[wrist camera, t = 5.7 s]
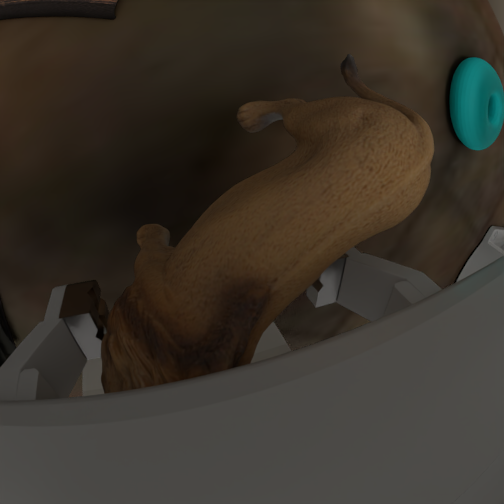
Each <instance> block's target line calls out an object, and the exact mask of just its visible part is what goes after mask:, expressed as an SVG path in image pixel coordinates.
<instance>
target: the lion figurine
mask: <svg viewBox="0 0 504 504" xmlns="http://www.w3.org/2000/svg"><path fill="white" fill-rule="evenodd" d="M341 72H342V75H343V77H344V79H345V81H346V83H347V84H348V85H349V86H350V87H351V89H352V90H353V91H354V92H355V93H356V94H357V95H358V96H359V97H361V98H357V97H345V96H344V97H331V98H326V99H321V100H315V101H311V102H305V101H304V100H302V99H294V98H290V99H284V100H278V101H254V102H249V103H246V104H244V105H242V106H241V107H240V108H239V109H238V112H237V121H238V123H239V124H240V125H241V126H242V127H243V128H244V129H245V130H246V131H248V132H250V133H253V132H258V131H260V130H262V129H264V128H265V127H267V126H268V125H269V124H271V123H272V122H274V121H277V120H281V119H283V124H284V127H285V129H286V130H287V131H288V133H289V134H290V135H291V136H292V137H294V138H295V140H296V142H297V146H296V150H295V151H294V152H293V153H292V154H291V155H290V156H288V157H287V158H285V159H284V160H282V161H280V162H279V163H277V164H275V165H273V166H271V167H269V168H267V169H265V170H263V171H261V172H259V173H257V174H255V175H253V176H251V177H249V178H247V179H245V180H243V181H241V182H239V183H238V184H236V185H234V186H233V187H232V188H230V189H229V190H228V191H226V192H225V193H224V194H223V195H221V196H220V197H219V198H218V199H217V200H216V201H215V202H214V203H213V204H211V205H210V207H209V208H208V209H207V210H206V211H205V212H204V213H203V214H202V215H201V216H200V218H199V219H198V220H197V221H196V222H195V224H194V225H193V226H192V227H191V229H190V230H189V231H188V232H187V233H186V235H185V236H184V237H183V238H182V239H181V241H180V242H179V243H178V245H177V246H176V248H174V247H172V246H168V245H169V241H170V232H169V230H168V229H166V228H164V227H162V226H161V225H159V224H146V225H144V226H142V227H141V228H140V229H139V230H138V231H137V243H138V244H139V246H140V248H141V250H140V252H139V254H138V255H137V257H136V260H135V264H134V273H135V280H134V282H133V284H132V285H131V286H129V287H127V288H126V289H125V291H124V292H123V294H122V295H121V297H120V298H119V299H117V301H116V302H115V304H114V306H113V309H112V310H111V311H110V312H109V315H108V318H107V332H106V334H105V336H104V337H103V340H102V343H101V359H102V375H101V383H102V387H103V390H104V394H106V393H113V392H120V391H127V390H133V389H139V388H145V387H151V386H156V385H161V384H166V383H171V382H176V381H181V380H186V379H190V378H195V377H199V376H203V375H208V374H212V373H216V372H220V371H224V370H228V369H232V368H235V367H239V366H243V365H246V364H250V363H251V360H252V358H253V356H254V353H255V350H256V347H257V344H258V342H259V340H260V338H261V336H262V334H263V333H264V331H265V330H266V329H267V328H268V327H269V326H270V324H271V323H272V322H273V321H274V320H275V318H276V317H277V316H278V315H279V314H280V313H281V312H282V311H283V310H284V309H285V308H286V307H287V306H288V305H289V304H290V303H291V302H292V301H294V300H295V299H296V298H297V297H298V296H299V295H301V294H302V293H303V292H304V291H305V290H306V289H308V288H309V287H310V286H311V285H312V284H313V283H314V282H315V281H316V280H317V279H318V278H319V276H320V275H321V274H322V273H323V272H324V271H325V270H326V269H327V268H328V267H329V266H330V265H331V264H332V263H333V262H335V261H336V260H337V259H338V258H340V257H341V256H342V255H343V254H345V253H346V252H347V251H348V250H350V249H351V248H352V247H354V246H355V245H357V244H358V243H360V242H362V241H364V240H366V239H368V238H370V237H372V236H374V235H376V234H378V233H380V232H382V231H385V230H387V229H389V228H392V227H393V226H395V225H397V224H398V223H400V222H401V221H403V220H404V219H405V218H406V217H407V216H409V215H410V214H411V213H412V212H413V211H414V210H415V209H416V207H417V206H418V205H419V203H420V202H421V200H422V198H423V196H424V194H425V192H426V189H427V187H428V185H429V181H430V174H431V168H430V163H431V160H432V157H433V153H434V142H433V136H432V133H431V130H430V128H429V126H428V124H427V123H426V122H425V120H424V119H423V118H422V117H421V116H420V115H418V114H417V113H416V112H414V111H413V110H411V109H410V108H408V107H406V106H404V105H402V104H399V103H397V102H395V101H393V100H390V99H388V98H386V97H384V96H382V95H380V94H378V93H376V92H374V91H372V90H370V89H369V88H368V87H366V86H365V85H364V83H363V82H362V81H361V79H360V78H359V76H358V70H357V67H356V64H355V62H354V58H353V57H352V56H351V55H350V54H348V55H347V57H346V58H345V60H344V61H343V62H342V63H341Z"/></svg>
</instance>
